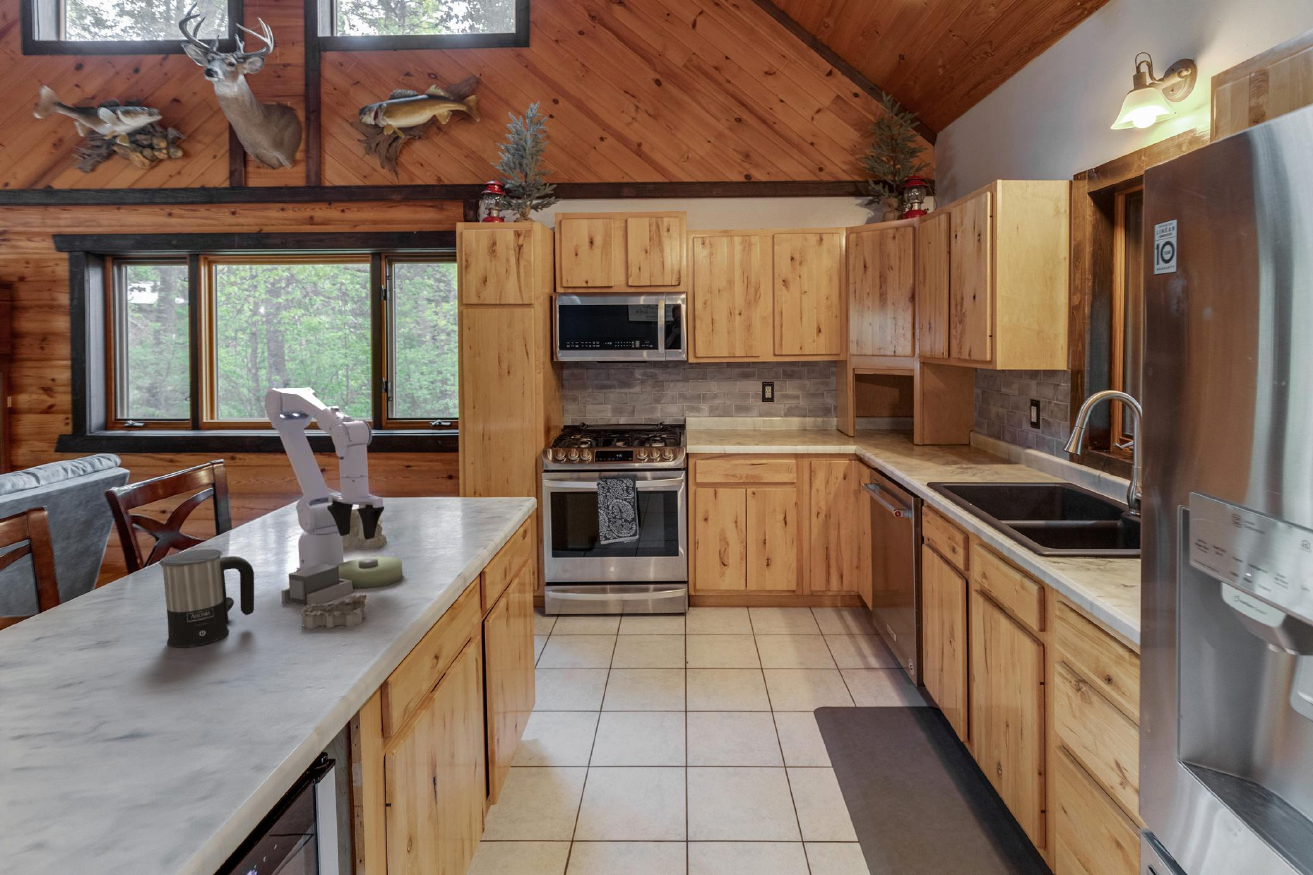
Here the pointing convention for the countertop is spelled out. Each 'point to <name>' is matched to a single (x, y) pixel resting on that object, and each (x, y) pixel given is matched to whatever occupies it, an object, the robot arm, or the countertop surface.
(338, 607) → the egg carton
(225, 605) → the milk frother
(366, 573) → the green disc with bracket
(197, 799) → the countertop surface
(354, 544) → the ceramic cottage
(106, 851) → the countertop surface
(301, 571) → the grey block with ledge
